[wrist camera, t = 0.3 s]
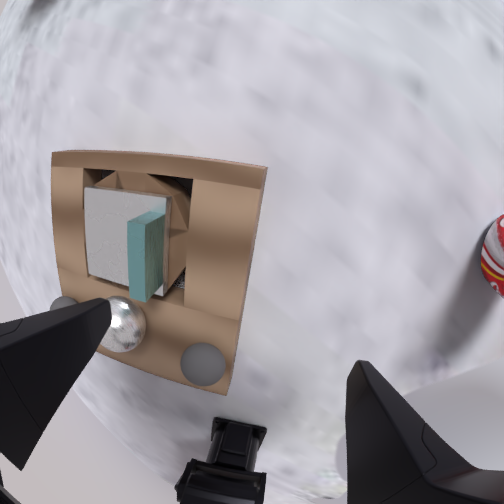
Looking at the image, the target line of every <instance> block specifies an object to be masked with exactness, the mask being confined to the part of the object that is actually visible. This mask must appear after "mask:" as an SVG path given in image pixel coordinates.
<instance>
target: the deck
mask: <svg viewBox="0 0 504 504" xmlns="http://www.w3.org/2000/svg"><path fill="white" fill-rule="evenodd" d="M267 168H268V167H264V166H258V165H252V164H245V163H239V162H232V161H225V160H217V159H210V158H201V157H193V156H183V155H173V154H161V153H148V152H132V151H108V150H67V151H58V152H52V161H51V206H52V223H53V235H54V245H55V253H56V261H57V268H58V274H59V280H60V286H61V291H62V296H68V297H71V298H73V299H75V300H76V301H77V302H78V303H81V302H84V301H88V300H92V299H96V298H99V297H101V298H104V299H105V298H107V297H110V296H116V295H119V296H124V297H127V298H129V299H131V300H133V301H134V302H135V303H136V304H137V305H138V306H139V307H140V308H141V310H142V312H143V314H144V316H145V321H146V331H145V335H144V337H143V339H142V341H141V343H140V344H139V345H138V346H137V347H135V348H134V349H132V350H130V351H127V352H114V351H111V350H108V349H106V348H105V347H104V346H102V345H101V344H99V346H98V348H97V350H96V351H97V352H99V353H101V354H103V355H105V356H108V357H110V358H112V359H115V360H117V361H120V362H122V363H125V364H127V365H130V366H132V367H135V368H137V369H140V370H143V371H145V372H148V373H151V374H154V375H157V376H160V377H163V378H166V379H169V380H172V381H175V382H178V383H181V384H184V385H188V386H191V387H195V388H198V389H202V390H205V391H209V392H213V393H217V394H221V395H225V396H226V395H227V392H228V389H229V385H230V382H231V379H232V373H233V367H234V362H235V356H236V350H237V344H238V338H239V332H240V327H241V321H242V315H243V309H244V303H245V297H246V291H247V286H248V280H249V274H250V268H251V262H252V256H253V250H254V244H255V239H256V233H257V227H258V221H259V215H260V209H261V203H262V197H263V191H264V186H265V180H266V174H267ZM102 169H105V170H116V171H115V172H113V173H112V174H110V175H109V176H107V177H105V178H104V179H102V180H101V175H102ZM170 176H175V177H183V178H190V179H193V187H192V196H191V198H190V196H189V193H188V191H187V190H186V189H185V188H184V187H183V186H181V185H180V184H179V183H178V182H177V181H175V180H174V179H173V178H172V177H170ZM88 186H99V187H108V188H116V189H124V190H131V191H139V192H146V193H153V194H160V195H167V196H172V199H171V212H170V228H169V247H168V282H167V292H166V293H165V294H164V296H160V295H157V294H153V295H152V296H151V298H150V299H149V300H148V301H147V302H146V303H145V302H142V301H139V300H135V299H132V298H130V295H129V286H126V285H122V284H119V283H116V282H113V281H110V280H106V279H103V278H100V277H97V276H94V275H91V274H89V270H88V261H87V249H86V235H85V206H84V190H85V187H88ZM185 269H186V271H185V289H182V288H178V287H174V286H172V284H173V283H174V282H175V281H176V280H177V279H178V278H179V276H180V275H181V274H182V273H183V271H184V270H185ZM196 343H208V344H211V345H213V346H215V347H216V348H218V349H219V350H220V351H221V353H222V354H223V356H224V359H225V364H226V367H225V372H224V374H223V376H222V378H221V379H220V380H219V381H218V382H216V383H215V384H213V385H210V386H197V385H195V384H192V383H191V382H189V381H188V380H187V379H186V378H185V376H184V375H183V373H182V371H181V366H180V361H181V357H182V354H183V353H184V351H185V350H186V349H187V348H188V347H189V346H191V345H193V344H196Z"/></svg>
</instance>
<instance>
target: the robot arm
mask: <svg viewBox="0 0 504 504" xmlns="http://www.w3.org/2000/svg"><path fill="white" fill-rule="evenodd" d="M111 323H112V313H111V304H110V301H109V300H107V299H104V298H101V297H99V298H96V299H92V300H88V301H84V302H81V303H77V304H73V305H70V306H66V307H62V308H58V309H55V310H51V311H47V312H44V313H40V314H36V315H32V316H29V317H25V318H24V319H23V318H21V319H18V320H13V321H9V322H6V323H0V453H2V454H3V455H4V456H5V457H6V458H7V459H8V460H9V461H10V462H11V463H13V464H14V465H15V466H16V467H17V468H18V469H19V470H20V471H22V469H23V468H24V466H25V464H26V462H27V460H28V459H29V457H30V455H31V453H32V451H33V449H34V447H35V446H36V444H37V442H38V441H39V439H40V437H41V435H42V434H43V431H44V430H45V428H46V427H47V425H48V423H49V422H50V420H51V418H52V417H53V415H54V414H55V412H56V410H57V409H58V407H59V406H60V404H61V402H62V401H63V399H64V398H65V396H66V395H67V393H68V392H69V390H70V388H71V387H72V386H73V384H74V383H75V381H76V380H77V378H78V377H79V375H80V374H81V372H82V371H83V369H84V368H85V366H86V365H87V363H88V362H89V361H90V359H91V358H92V356H93V355H94V353H95V351H96V350H97V348H98V346H99V344H100V343H101V341H102V339H103V337H104V336H105V334H106V332H107V330H108V329H109V327H110V325H111ZM345 424H346V440H347V441H346V443H347V504H504V471H494V470H483V469H479V468H476V467H474V466H472V465H471V464H470V463H468V462H467V461H466V460H465V459H464V458H463V457H462V456H460V455H459V454H458V453H457V452H456V451H455V450H454V449H452V448H451V447H450V446H449V445H448V444H447V443H445V441H444V440H443V439H442V438H440V436H439V435H438V434H437V433H436V432H435V431H434V430H433V429H432V428H431V427H430V426H429V425H428V424H427V423H425V421H424V420H423V419H422V418H421V416H420V415H419V414H418V413H417V412H416V411H415V410H414V409H413V408H412V407H411V406H410V405H409V404H408V403H407V401H406V400H405V399H404V398H403V397H402V396H401V395H400V394H399V393H398V392H397V391H396V390H395V389H394V388H393V387H392V386H391V384H390V383H389V382H388V381H387V380H386V379H385V378H384V377H383V376H382V375H381V374H380V373H379V372H378V371H377V370H376V369H375V368H374V366H373V365H372V364H371V363H370V362H369V361H364V360H358V361H356V363H355V364H354V366H353V368H352V370H351V372H350V374H349V376H348V378H347V389H346V412H345ZM266 432H267V429H266V428H264V427H259V426H254V425H249V424H244V423H239V422H234V421H230V420H226V419H221V418H217V417H216V418H214V420H213V427H212V436H211V441H212V444H211V447H210V450H209V453H208V456H207V460H206V462H202V461H198V460H197V459H193V458H192V459H191V462H188V463H187V465H186V468H185V471H184V473H183V475H182V476H181V478H180V479H179V481H178V482H177V484H176V485H175V490H176V492H177V501H178V502H180V504H263V501H264V493H265V483H266V474H267V473H264V472H262V473H259V472H254V468H255V462H256V457H257V451H258V450H259V448H260V446H261V444H262V441H263V439H264V437H265V435H266ZM3 487H4V486H3V481H2V476H1V471H0V504H21V503H20V502H19V501H17V500H16V499H15V498H14V497H13V496H12V495H11V494H10V493H9V492H8V491H7V490H5V489H4V488H3Z"/></svg>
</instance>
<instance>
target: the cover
mask: <svg viewBox="0 0 504 504" xmlns="http://www.w3.org/2000/svg"><path fill="white" fill-rule="evenodd" d="M171 199H172V196H167V195H160V194H153V193H146V192H139V191H131V190H124V189H116V188H108V187H99V186H88V187H85V190H84V206H85V235H86V249H87V261H88V270H89V274H91V275H94V276H97V277H100V278H103V279H106V280H110V281H113V282H116V283H119V284H122V285H126V286H129V295H130V298H132V299H135V300H139V301H142V302H145V303H146V302H147V301H148V300H149V299H150V298H151V296H152V295H153V294H157V295H160V296H164V294H165V293H166V292H167V282H168V247H169V228H170V212H171Z"/></svg>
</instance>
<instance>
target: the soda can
mask: <svg viewBox="0 0 504 504" xmlns="http://www.w3.org/2000/svg"><path fill="white" fill-rule="evenodd" d="M481 268H482V272H483V275H484V277H485V279H486V280H487V281H488V282H489V283H490V284H491V286H492V287H493V288H494V289H495V290H496V291H497V292H498V293H499V294H500V295H501V296H502V297H503V298H504V214H503V215H501V216H500V217H499V218H498V219H497V220H496V221H495V222H494V223H493V224H492V226H491V227H490V229H489V231H488V233H487V235H486V238H485V240H484V244H483V247H482V253H481Z"/></svg>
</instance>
